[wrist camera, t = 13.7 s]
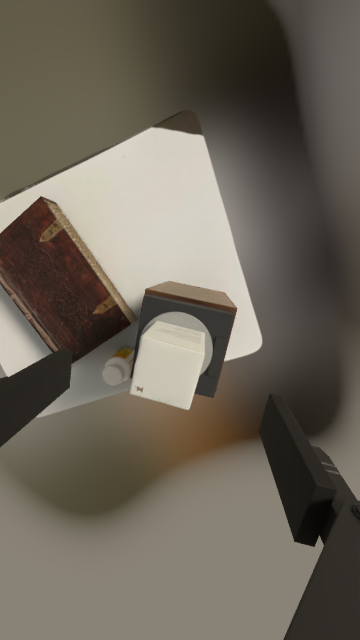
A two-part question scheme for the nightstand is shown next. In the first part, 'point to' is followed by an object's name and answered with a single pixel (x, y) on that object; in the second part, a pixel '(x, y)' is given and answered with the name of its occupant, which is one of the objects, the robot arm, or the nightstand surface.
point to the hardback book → (59, 282)
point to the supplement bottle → (118, 366)
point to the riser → (194, 297)
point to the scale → (195, 318)
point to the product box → (168, 364)
